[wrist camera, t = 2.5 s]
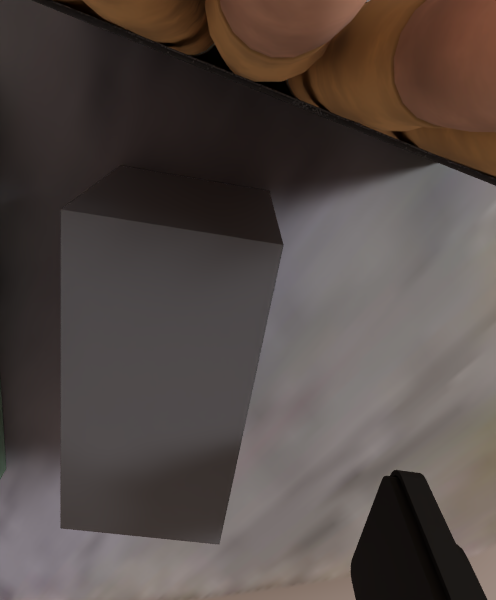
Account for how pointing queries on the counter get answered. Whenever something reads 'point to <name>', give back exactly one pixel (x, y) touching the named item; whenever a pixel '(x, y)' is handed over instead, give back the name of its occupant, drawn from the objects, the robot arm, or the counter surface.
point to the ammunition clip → (341, 61)
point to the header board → (2, 440)
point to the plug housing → (160, 349)
